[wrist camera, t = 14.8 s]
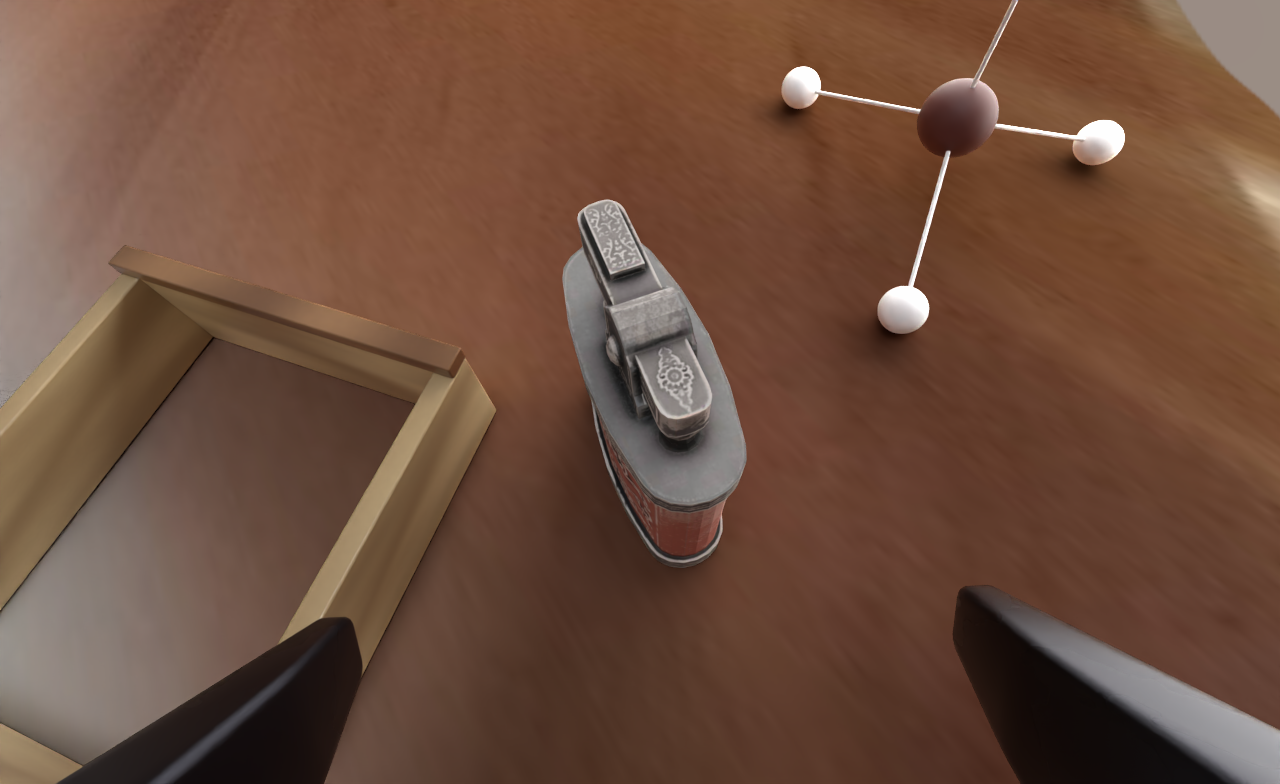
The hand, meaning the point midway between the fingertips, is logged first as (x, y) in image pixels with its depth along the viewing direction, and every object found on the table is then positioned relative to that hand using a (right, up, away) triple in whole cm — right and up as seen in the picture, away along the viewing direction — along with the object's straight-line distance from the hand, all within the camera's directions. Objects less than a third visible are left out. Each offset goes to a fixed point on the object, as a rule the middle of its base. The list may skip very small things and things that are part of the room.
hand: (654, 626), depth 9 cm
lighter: (0, +1, +13) cm, 13 cm away
